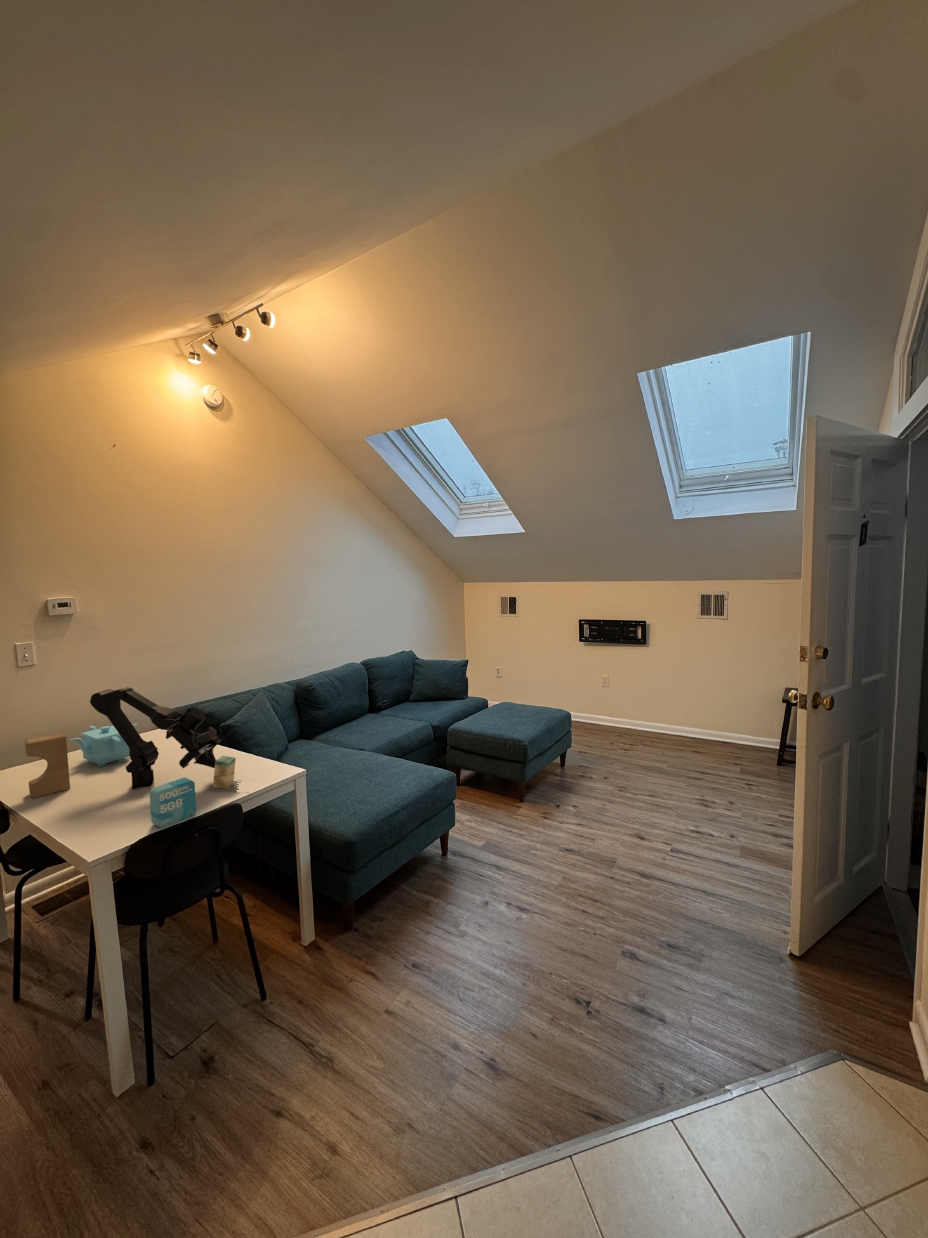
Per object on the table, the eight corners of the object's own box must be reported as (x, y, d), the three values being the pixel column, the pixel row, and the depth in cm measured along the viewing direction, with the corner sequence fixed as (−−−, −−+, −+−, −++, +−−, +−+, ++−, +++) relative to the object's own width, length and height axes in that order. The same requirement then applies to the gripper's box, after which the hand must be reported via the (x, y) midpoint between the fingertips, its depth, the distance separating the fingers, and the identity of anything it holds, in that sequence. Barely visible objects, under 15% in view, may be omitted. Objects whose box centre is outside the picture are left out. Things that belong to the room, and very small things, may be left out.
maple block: (213, 787, 186) (215, 760, 185) (220, 781, 191) (222, 755, 190) (226, 789, 186) (228, 763, 185) (233, 783, 191) (235, 757, 190)
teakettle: (122, 767, 207) (120, 732, 205) (69, 771, 202) (66, 735, 201) (140, 751, 225) (138, 718, 224) (92, 754, 221) (90, 721, 219)
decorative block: (30, 799, 179) (25, 743, 177) (29, 793, 183) (24, 739, 181) (70, 789, 186) (66, 736, 184) (68, 784, 190) (64, 732, 188)
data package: (158, 829, 158) (155, 792, 157) (151, 825, 161) (148, 789, 159) (196, 814, 168) (194, 779, 167) (189, 810, 171) (187, 776, 169)
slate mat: (203, 792, 184) (203, 791, 184) (219, 781, 194) (218, 780, 194) (249, 794, 183) (249, 793, 183) (262, 782, 193) (262, 781, 193)
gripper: (185, 731, 177) (217, 762, 178) (214, 715, 196) (244, 744, 196) (165, 752, 179) (197, 783, 179) (196, 735, 197) (225, 763, 198)
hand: (217, 767), depth 188 cm, fingers closed
